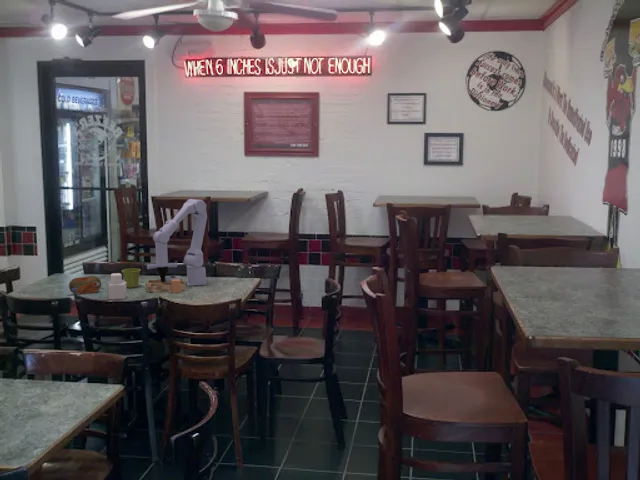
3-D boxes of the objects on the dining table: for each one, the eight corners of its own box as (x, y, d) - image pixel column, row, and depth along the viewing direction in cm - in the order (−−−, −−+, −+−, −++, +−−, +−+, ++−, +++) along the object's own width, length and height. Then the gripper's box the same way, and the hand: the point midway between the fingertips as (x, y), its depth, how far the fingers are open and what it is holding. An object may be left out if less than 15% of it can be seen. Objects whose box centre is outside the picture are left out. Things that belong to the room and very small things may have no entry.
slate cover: (179, 280, 361) (179, 273, 361) (182, 283, 354) (182, 276, 353) (164, 281, 359) (163, 274, 358) (166, 284, 351) (166, 277, 351)
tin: (70, 295, 341) (69, 278, 340) (68, 294, 344) (67, 277, 343) (101, 292, 349) (100, 275, 348) (100, 291, 352) (99, 274, 351)
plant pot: (136, 288, 357) (135, 271, 355) (119, 288, 358) (118, 271, 357) (144, 285, 366) (143, 268, 365) (127, 284, 368) (126, 268, 366)
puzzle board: (181, 285, 364) (181, 277, 363) (185, 290, 353) (185, 281, 352) (145, 288, 358) (145, 280, 357) (148, 292, 347) (148, 284, 346)
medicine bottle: (111, 296, 339) (110, 271, 337) (126, 296, 340) (125, 271, 338) (108, 299, 332) (107, 274, 330) (124, 299, 333) (123, 274, 331)
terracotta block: (179, 290, 351) (179, 279, 350) (181, 292, 347) (180, 280, 346) (171, 291, 349) (171, 279, 349) (172, 293, 346) (172, 281, 345)
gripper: (147, 257, 346) (149, 284, 348) (177, 255, 351) (178, 282, 353) (146, 255, 353) (147, 282, 355) (175, 253, 358) (176, 279, 360)
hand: (162, 282), depth 354 cm, fingers closed
